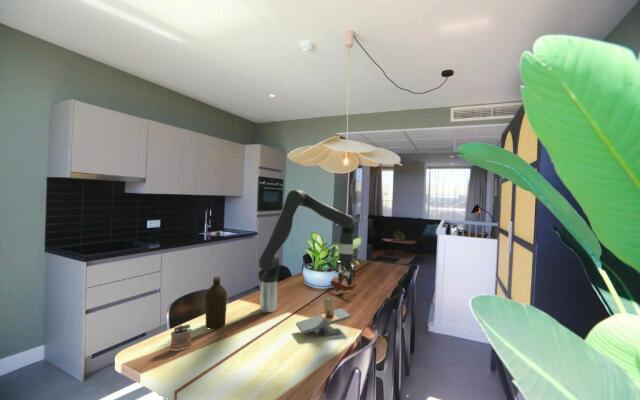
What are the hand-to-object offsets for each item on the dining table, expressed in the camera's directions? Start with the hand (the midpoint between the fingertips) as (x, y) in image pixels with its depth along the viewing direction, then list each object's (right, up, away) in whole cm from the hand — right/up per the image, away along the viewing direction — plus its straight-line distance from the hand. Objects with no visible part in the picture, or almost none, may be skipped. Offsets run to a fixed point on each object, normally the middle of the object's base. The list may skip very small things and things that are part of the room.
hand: (344, 283), depth 150 cm
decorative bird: (+2, -22, +51) cm, 56 cm away
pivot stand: (-11, -22, -7) cm, 26 cm away
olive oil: (-67, -21, -4) cm, 70 cm away
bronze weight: (-8, -15, -5) cm, 18 cm away
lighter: (-74, -21, -26) cm, 81 cm away
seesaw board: (-11, -17, -7) cm, 22 cm away
